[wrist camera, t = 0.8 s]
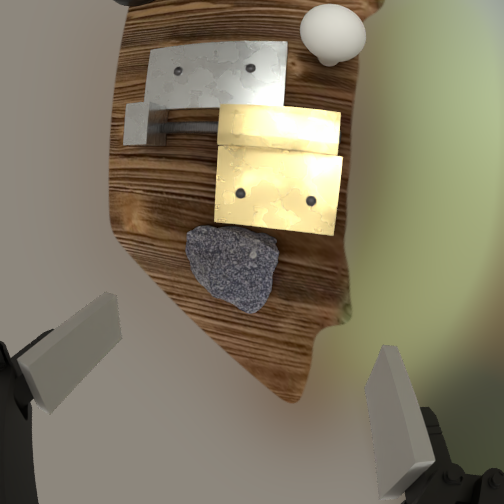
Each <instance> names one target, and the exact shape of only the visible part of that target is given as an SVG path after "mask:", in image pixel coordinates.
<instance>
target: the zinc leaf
mask: <svg viewBox="0 0 504 504" xmlns="http://www.w3.org/2000/svg"><path fill="white" fill-rule="evenodd" d="M287 54H288V42H279V41H230V42H211V43H199V44H189V45H180V46H172V47H165V48H159V49H153V50H151V52H150V58H149V65H148V72H147V80H146V88H145V97H144V102H138V103H130V104H126V114H125V126H124V140H123V145H132V146H166V136H167V133H218V125H219V122H217V121H196V122H168V111H169V110H183V109H220V104H250V105H271V106H284V98H285V84H286V69H287ZM340 141H341V131H339V143H340Z"/></svg>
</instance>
